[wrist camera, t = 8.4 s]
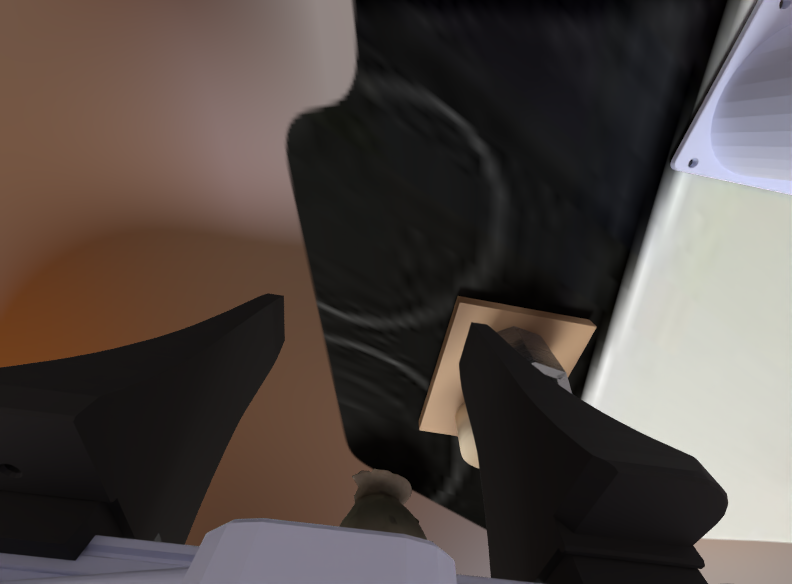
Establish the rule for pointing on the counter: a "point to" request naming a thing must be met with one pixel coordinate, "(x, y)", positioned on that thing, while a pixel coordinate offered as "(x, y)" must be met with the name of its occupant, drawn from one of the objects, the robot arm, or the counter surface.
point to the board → (557, 331)
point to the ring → (536, 353)
